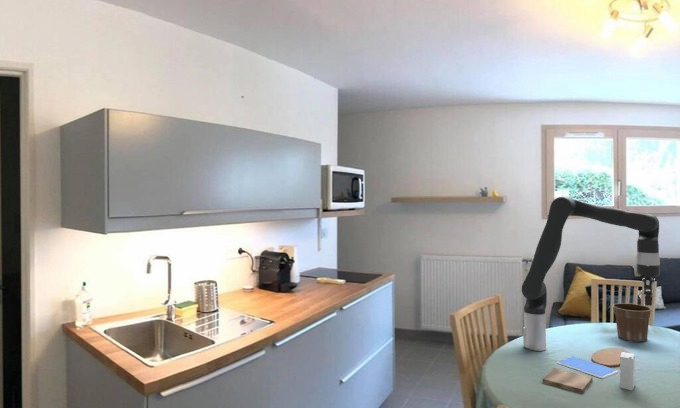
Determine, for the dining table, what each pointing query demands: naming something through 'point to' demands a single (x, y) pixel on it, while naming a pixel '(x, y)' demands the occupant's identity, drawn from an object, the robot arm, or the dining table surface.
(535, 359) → the dining table surface
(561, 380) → the walnut board
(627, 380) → the skincare box
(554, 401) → the dining table surface
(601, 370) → the tablet computer
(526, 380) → the dining table surface
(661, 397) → the dining table surface
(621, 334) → the plant pot
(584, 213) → the robot arm
